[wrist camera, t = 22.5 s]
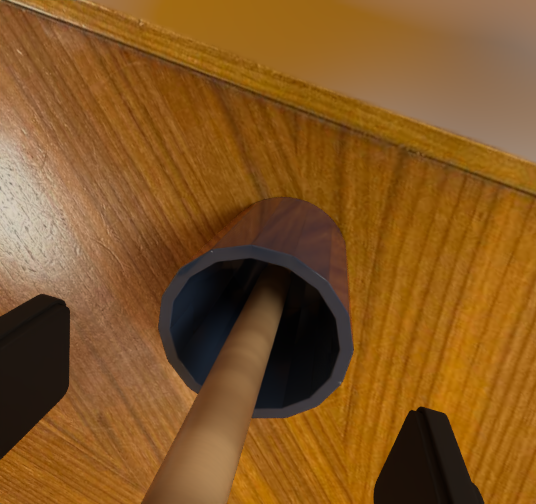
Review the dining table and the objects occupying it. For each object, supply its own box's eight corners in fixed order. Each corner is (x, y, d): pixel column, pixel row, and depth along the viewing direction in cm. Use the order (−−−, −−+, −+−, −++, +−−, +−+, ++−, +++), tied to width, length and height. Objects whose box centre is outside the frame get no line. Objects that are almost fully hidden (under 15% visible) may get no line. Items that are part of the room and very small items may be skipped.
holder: (236, 183, 21) (169, 222, 13) (363, 214, 20) (380, 279, 12) (216, 293, 24) (150, 387, 15) (327, 325, 23) (321, 441, 15)
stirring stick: (278, 232, 21) (139, 480, 6) (304, 241, 21) (229, 517, 6) (263, 277, 22) (112, 584, 7) (288, 286, 22) (188, 616, 7)
